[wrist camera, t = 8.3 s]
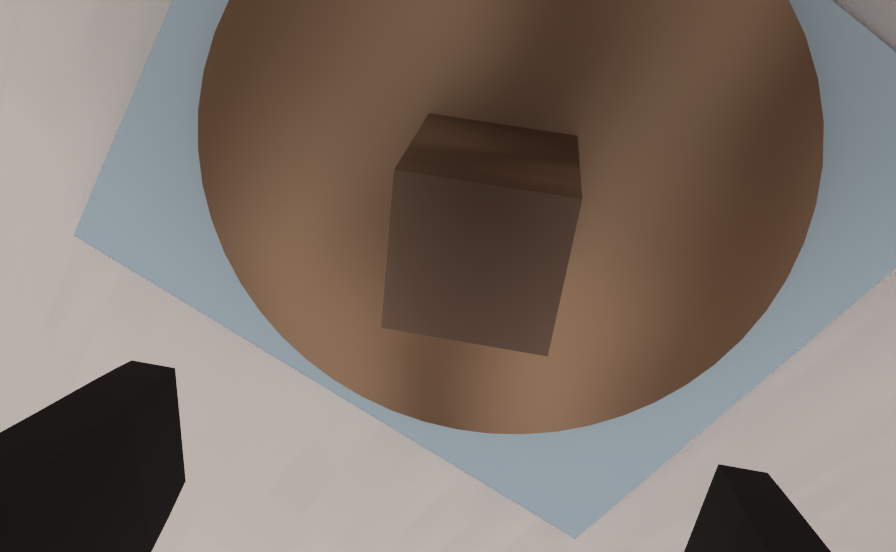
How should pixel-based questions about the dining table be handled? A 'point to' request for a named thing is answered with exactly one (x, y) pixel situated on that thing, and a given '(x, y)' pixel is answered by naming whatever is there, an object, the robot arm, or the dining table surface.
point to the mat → (540, 454)
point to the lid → (511, 192)
